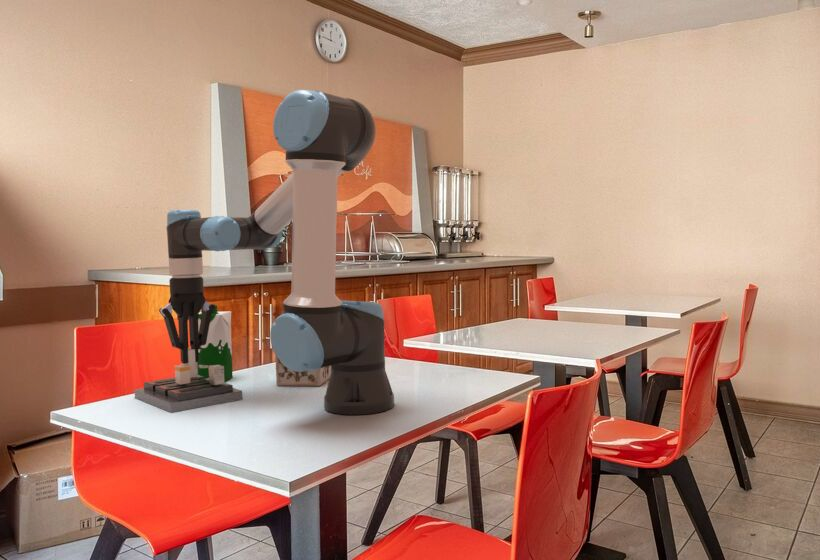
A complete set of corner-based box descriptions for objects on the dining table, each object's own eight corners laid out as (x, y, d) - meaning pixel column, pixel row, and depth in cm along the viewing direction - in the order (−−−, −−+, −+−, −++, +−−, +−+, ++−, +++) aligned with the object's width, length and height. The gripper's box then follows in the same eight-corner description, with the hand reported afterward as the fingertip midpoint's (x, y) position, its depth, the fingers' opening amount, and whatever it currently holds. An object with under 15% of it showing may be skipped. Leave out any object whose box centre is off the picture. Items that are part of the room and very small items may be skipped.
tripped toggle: (190, 382, 162) (190, 365, 162) (180, 384, 161) (179, 367, 160) (185, 381, 164) (184, 364, 164) (175, 382, 163) (174, 365, 163)
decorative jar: (320, 387, 173) (318, 314, 172) (275, 386, 175) (272, 315, 174) (333, 377, 185) (331, 309, 184) (290, 377, 186) (288, 310, 185)
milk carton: (192, 383, 181) (189, 307, 179) (206, 376, 190) (202, 303, 188) (225, 383, 180) (222, 306, 178) (237, 376, 189) (234, 303, 187)
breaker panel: (242, 399, 161) (241, 365, 161) (171, 412, 150) (169, 376, 149) (202, 386, 177) (201, 355, 176) (134, 397, 166) (133, 364, 165)
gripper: (205, 274, 170) (209, 370, 171) (152, 277, 161) (157, 378, 162) (219, 275, 164) (223, 374, 165) (165, 278, 155) (169, 383, 157)
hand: (190, 376), depth 164 cm, fingers closed
